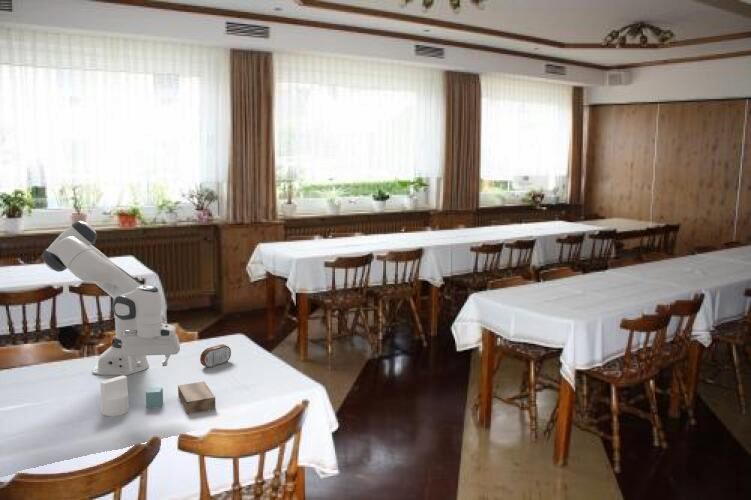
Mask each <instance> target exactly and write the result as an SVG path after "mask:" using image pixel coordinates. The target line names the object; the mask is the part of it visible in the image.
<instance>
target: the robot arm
mask: <svg viewBox="0 0 751 500" xmlns="http://www.w3.org/2000/svg"><path fill="white" fill-rule="evenodd" d="M97 238H98V233H97V232H96V230H95V228H94V227H93V226H92V225H91V224H90V223H88V222H86V221H85V222H84V221H83V220H78V221H75V222H74V223H72V224H71V226H69V227H68V228H66V229H65V230H63V231H62V232H61V233H60V234H59V235H58V236H57V238H56V239H54V241H53V242H52V243H51V244H50V245H49V246H48V247H47V248H46V249H45V250H44V251H43V253H42V254H41V259H42V260H43V262H44V265H45V266H46V267H47V268H49V269H50V270H53V271H55V272H57V273H58V272H59V273H60V272H63V271H65V270H69V271H70V272H71V273H72V274H73V275H74V277H77V279H79V280H81V281H83V282H86V283H94V284H95V285H97V287H99V288H100V289H101V290H103V291H104V292H105V293H107V294H108V295H109V296H110V297H111V298H112V299H113V301H112V310H113V313H114V316H115V318H114V325H115V335H113V336H112V338H111V339H110V345H111V346H109V347H108V348H107V349H106V350H104V352H103V353H101V354H100V355H99V358H98V363H97V364H96V365H95V366H94V367H93V368H92V374H93V375H106V376H109V375H110V376H122V375H123V376H129V375H131V374H135V373H137V372H138V373H139V372H141V371H144V370H146V369H148V368H149V366H150V364H149V363H148V358H147V356H164V358H165V360H162V366H161V367H168V360H170V357H171V355H172V356H173V355H177V354H179V352H180V349H181V344H180V343H181V342H180V338H179V335H178V334H177V333H176V330H177V328H176V326H175V325H171V324H167V323H164V322H163V319H162V312H163V311H162V309H163V308H162V307H163V306H162V297H161V293H160V290H159V288H158V287H156V286H155V285H151V284H143V283H141V282H140V281H139V280H138V279H136V278H135V277H133V275H130V274H129V273H128V272H127V271H125V270H124V269H123V268H121V267H120V266H118V265H117V264H116V263H115V262H113V261H112V260H111V259H110V258H108V257H107V256H106V255H105V254H104V253H103V252H101V250H99V249H98V248H96V247H95V246H94V245H95V243H96V241H97Z"/></svg>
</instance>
